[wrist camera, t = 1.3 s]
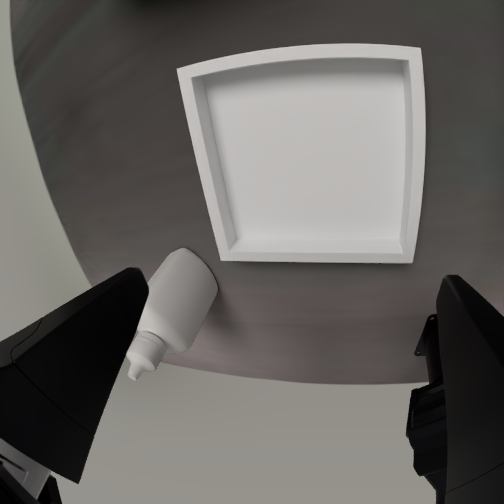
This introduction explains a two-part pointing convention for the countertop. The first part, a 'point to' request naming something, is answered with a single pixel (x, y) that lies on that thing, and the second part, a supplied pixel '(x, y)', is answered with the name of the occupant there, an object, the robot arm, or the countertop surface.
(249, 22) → the countertop surface
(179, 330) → the eye dropper bottle
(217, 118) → the tray
